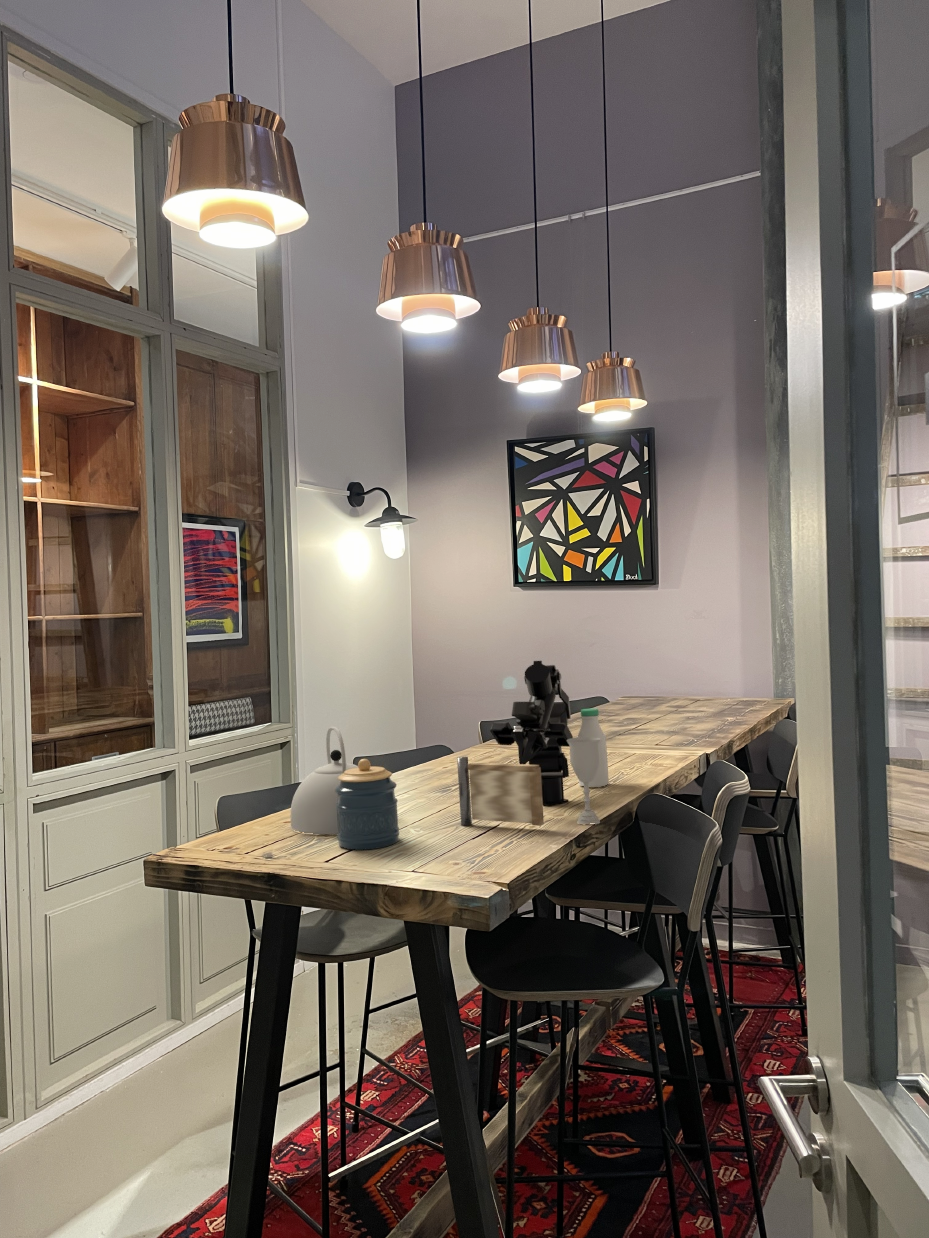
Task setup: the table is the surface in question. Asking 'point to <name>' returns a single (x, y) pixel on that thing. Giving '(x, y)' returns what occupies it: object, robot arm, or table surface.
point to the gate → (506, 792)
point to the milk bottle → (593, 729)
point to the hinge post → (464, 791)
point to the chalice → (585, 770)
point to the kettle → (320, 794)
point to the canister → (366, 808)
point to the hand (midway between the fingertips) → (521, 764)
